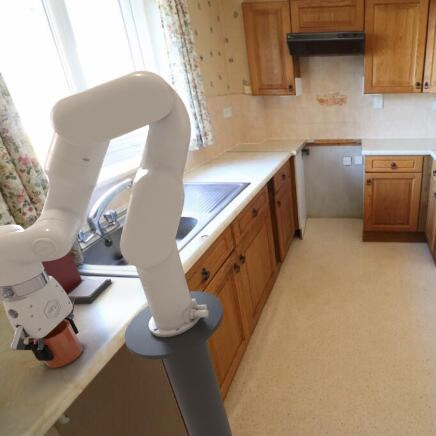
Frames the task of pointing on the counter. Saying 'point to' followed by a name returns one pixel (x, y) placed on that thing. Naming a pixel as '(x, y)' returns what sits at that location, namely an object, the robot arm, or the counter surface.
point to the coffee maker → (88, 290)
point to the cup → (62, 344)
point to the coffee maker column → (63, 271)
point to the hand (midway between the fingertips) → (59, 345)
